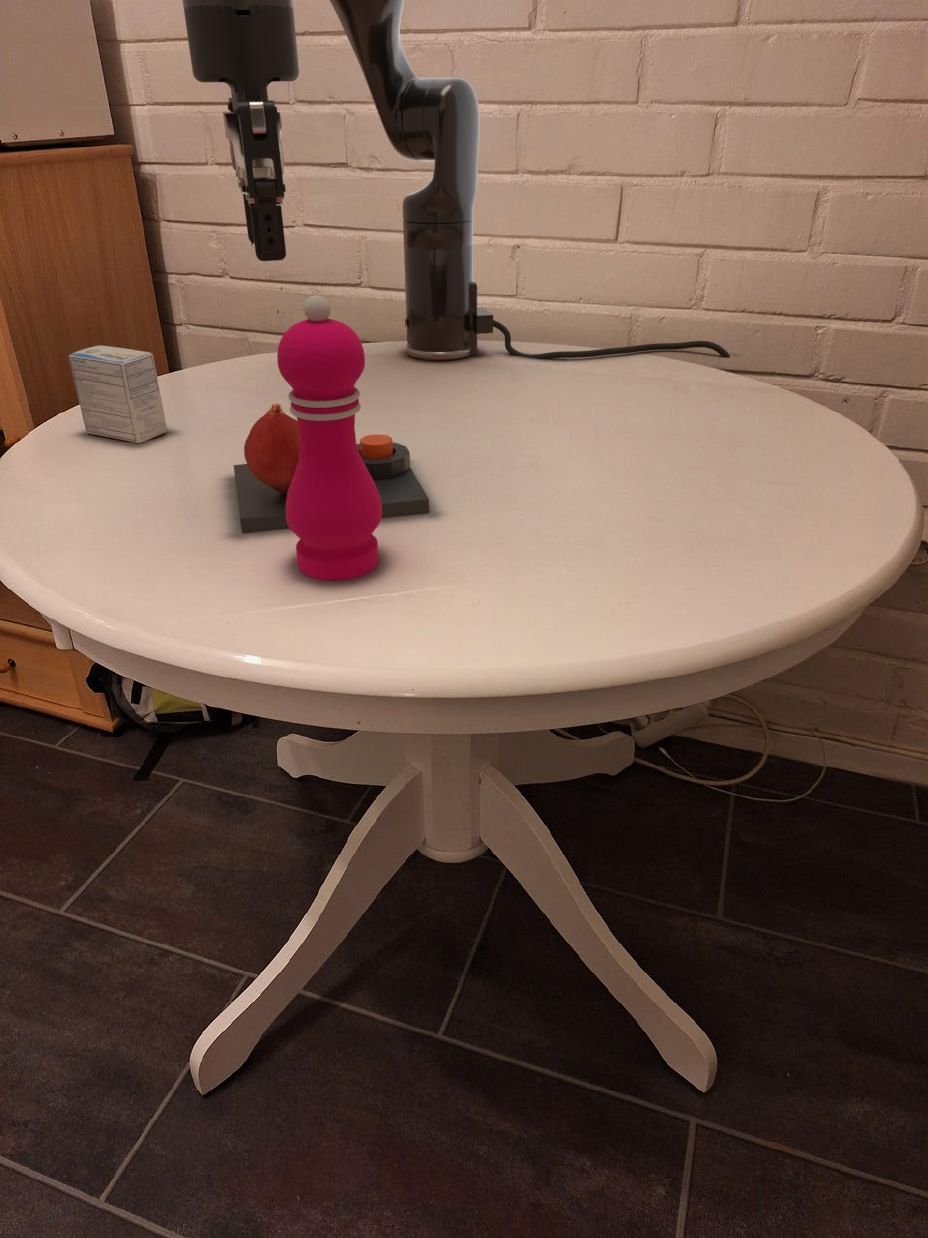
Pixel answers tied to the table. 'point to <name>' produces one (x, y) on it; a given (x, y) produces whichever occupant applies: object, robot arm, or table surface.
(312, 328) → the pepper mill
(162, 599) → the table surface
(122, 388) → the medicine box
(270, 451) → the onion
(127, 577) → the table surface
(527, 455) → the table surface
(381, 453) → the button
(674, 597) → the table surface
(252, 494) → the scale
